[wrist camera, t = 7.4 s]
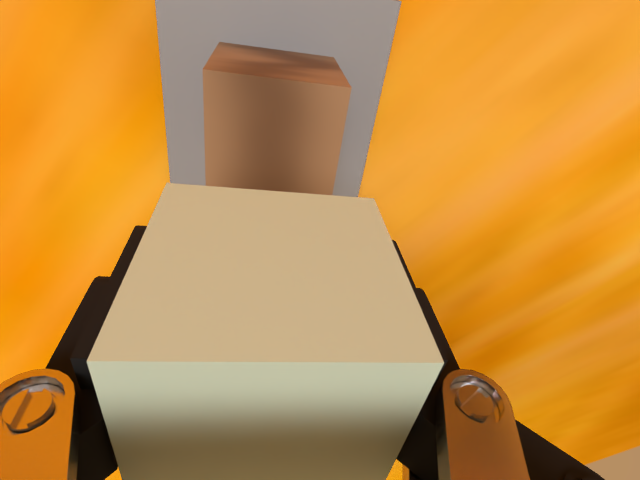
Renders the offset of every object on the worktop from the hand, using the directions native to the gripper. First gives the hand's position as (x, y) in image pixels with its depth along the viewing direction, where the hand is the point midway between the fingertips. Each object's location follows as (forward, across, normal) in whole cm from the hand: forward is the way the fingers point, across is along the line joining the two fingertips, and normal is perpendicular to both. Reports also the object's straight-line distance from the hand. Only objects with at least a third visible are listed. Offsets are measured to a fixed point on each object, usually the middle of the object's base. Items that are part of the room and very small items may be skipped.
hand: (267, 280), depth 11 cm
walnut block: (+15, 0, 0) cm, 15 cm away
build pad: (+16, 0, 0) cm, 16 cm away
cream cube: (+1, 0, 0) cm, 1 cm away
